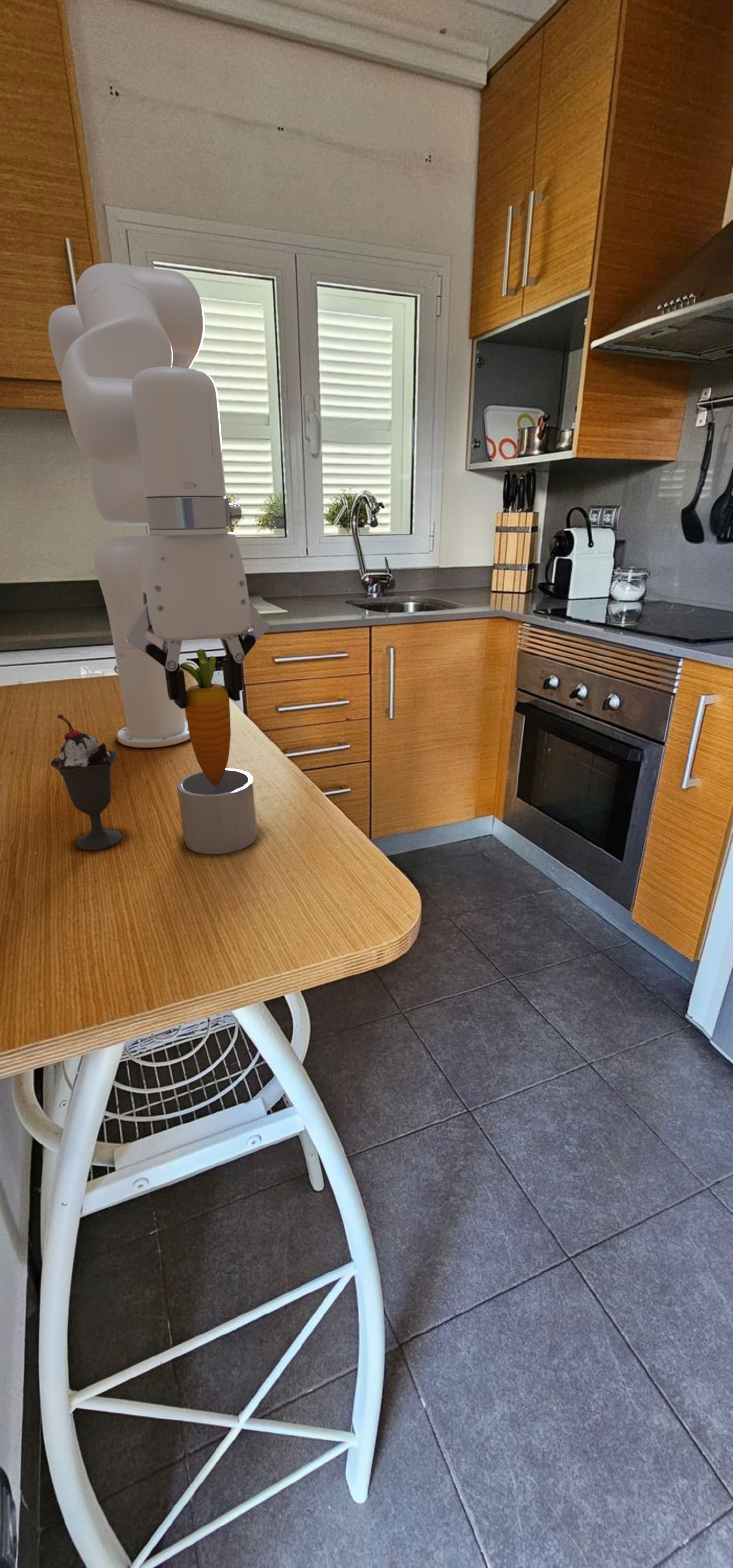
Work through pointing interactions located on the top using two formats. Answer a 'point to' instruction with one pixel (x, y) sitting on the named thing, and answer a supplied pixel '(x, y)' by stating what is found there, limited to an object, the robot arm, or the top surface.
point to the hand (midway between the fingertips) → (207, 700)
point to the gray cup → (218, 812)
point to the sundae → (88, 783)
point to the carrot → (208, 719)
